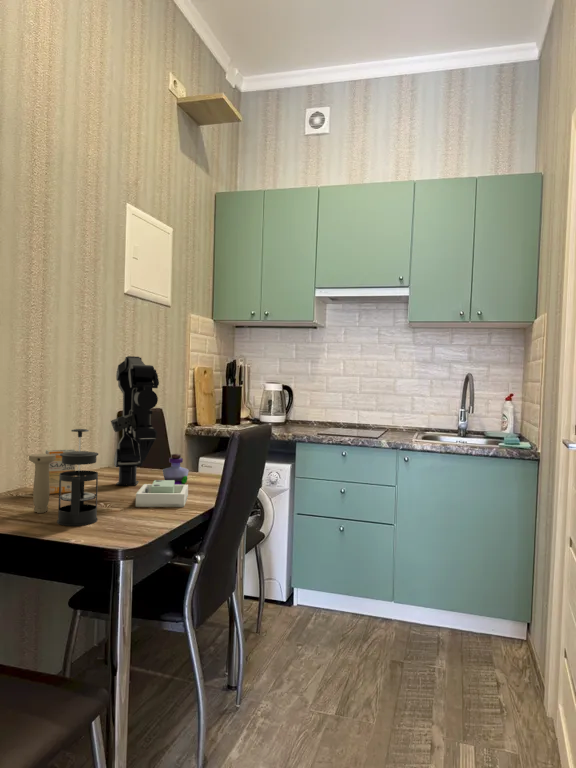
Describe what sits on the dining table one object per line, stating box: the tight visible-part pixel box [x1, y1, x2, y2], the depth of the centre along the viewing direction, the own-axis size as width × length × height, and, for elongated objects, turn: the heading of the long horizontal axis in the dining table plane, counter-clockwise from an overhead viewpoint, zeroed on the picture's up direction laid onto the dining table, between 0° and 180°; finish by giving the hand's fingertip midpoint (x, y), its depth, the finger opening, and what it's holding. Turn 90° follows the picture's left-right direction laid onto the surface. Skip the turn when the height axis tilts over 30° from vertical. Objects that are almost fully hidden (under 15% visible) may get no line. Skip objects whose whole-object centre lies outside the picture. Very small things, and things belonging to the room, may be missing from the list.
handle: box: [28, 453, 56, 514], centre depth 145 cm, size 5×6×15 cm
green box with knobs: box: [151, 479, 175, 493], centre depth 162 cm, size 10×6×5 cm, turn 9°
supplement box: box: [45, 449, 76, 495], centre depth 171 cm, size 8×5×13 cm, turn 123°
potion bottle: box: [162, 453, 190, 485], centre depth 178 cm, size 9×9×12 cm
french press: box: [56, 428, 99, 527], centre depth 137 cm, size 12×9×23 cm
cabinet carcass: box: [135, 483, 189, 508], centre depth 162 cm, size 14×13×4 cm
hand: (139, 458), depth 166 cm, fingers open, 9 cm apart
